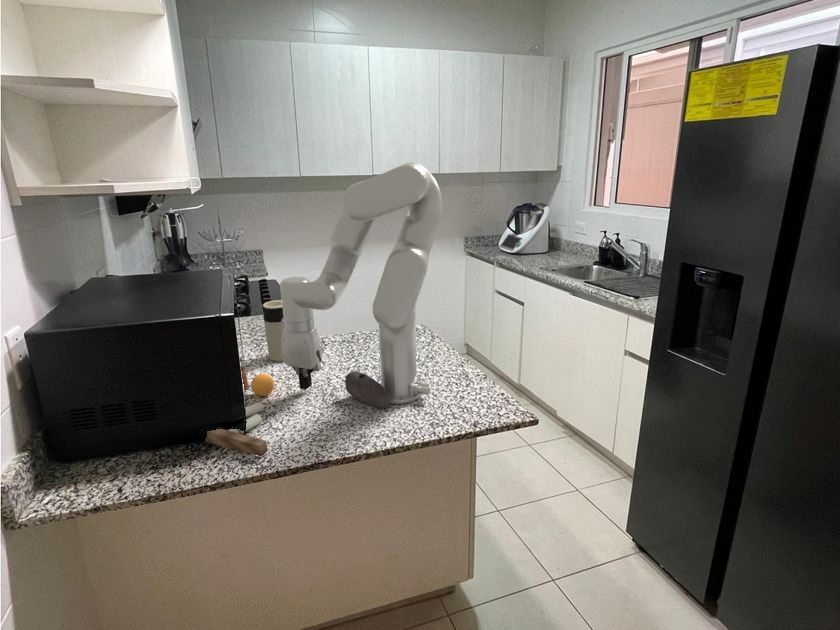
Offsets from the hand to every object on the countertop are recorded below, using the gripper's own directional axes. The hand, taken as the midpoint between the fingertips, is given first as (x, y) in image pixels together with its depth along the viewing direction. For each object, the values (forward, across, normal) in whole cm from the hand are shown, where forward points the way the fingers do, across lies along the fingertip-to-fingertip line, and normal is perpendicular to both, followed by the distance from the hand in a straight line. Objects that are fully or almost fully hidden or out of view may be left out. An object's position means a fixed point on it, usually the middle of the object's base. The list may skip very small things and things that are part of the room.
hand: (306, 387), depth 133 cm
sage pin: (0, -2, -17) cm, 17 cm away
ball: (-2, -10, -6) cm, 12 cm away
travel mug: (+2, -22, +17) cm, 28 cm away
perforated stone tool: (+2, +19, +2) cm, 19 cm away
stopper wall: (+2, 0, -28) cm, 28 cm away
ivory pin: (0, -5, -13) cm, 13 cm away
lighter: (+2, -20, -5) cm, 21 cm away
